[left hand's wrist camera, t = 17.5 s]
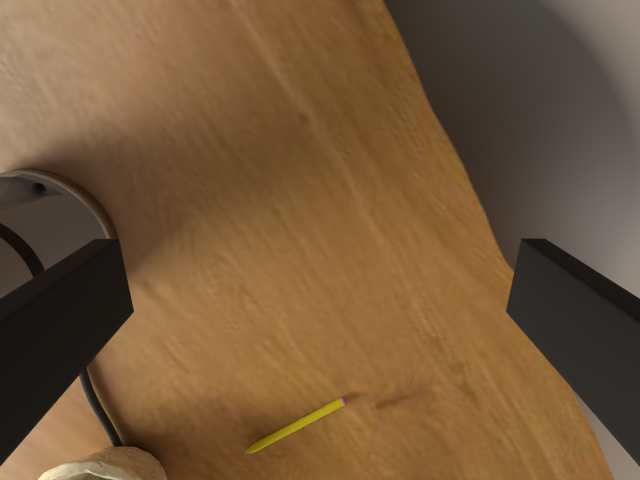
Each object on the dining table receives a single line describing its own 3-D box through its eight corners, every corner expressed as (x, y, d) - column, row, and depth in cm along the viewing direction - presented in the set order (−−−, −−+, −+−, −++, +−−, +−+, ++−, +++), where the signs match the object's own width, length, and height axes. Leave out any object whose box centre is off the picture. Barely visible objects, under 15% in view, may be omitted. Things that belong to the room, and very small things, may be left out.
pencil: (342, 394, 47) (342, 400, 47) (346, 399, 48) (346, 405, 47) (242, 448, 51) (240, 454, 50) (246, 452, 51) (245, 459, 50)
